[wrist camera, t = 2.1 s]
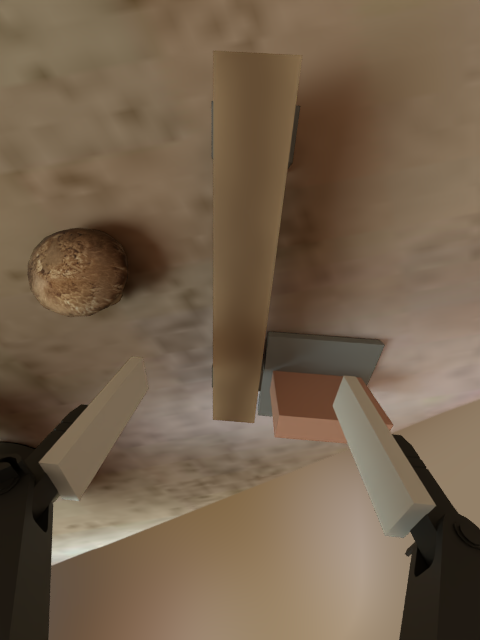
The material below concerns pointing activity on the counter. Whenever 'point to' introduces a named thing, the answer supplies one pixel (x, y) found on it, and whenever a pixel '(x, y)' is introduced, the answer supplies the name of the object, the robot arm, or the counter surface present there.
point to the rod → (247, 214)
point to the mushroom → (78, 272)
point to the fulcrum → (313, 382)
